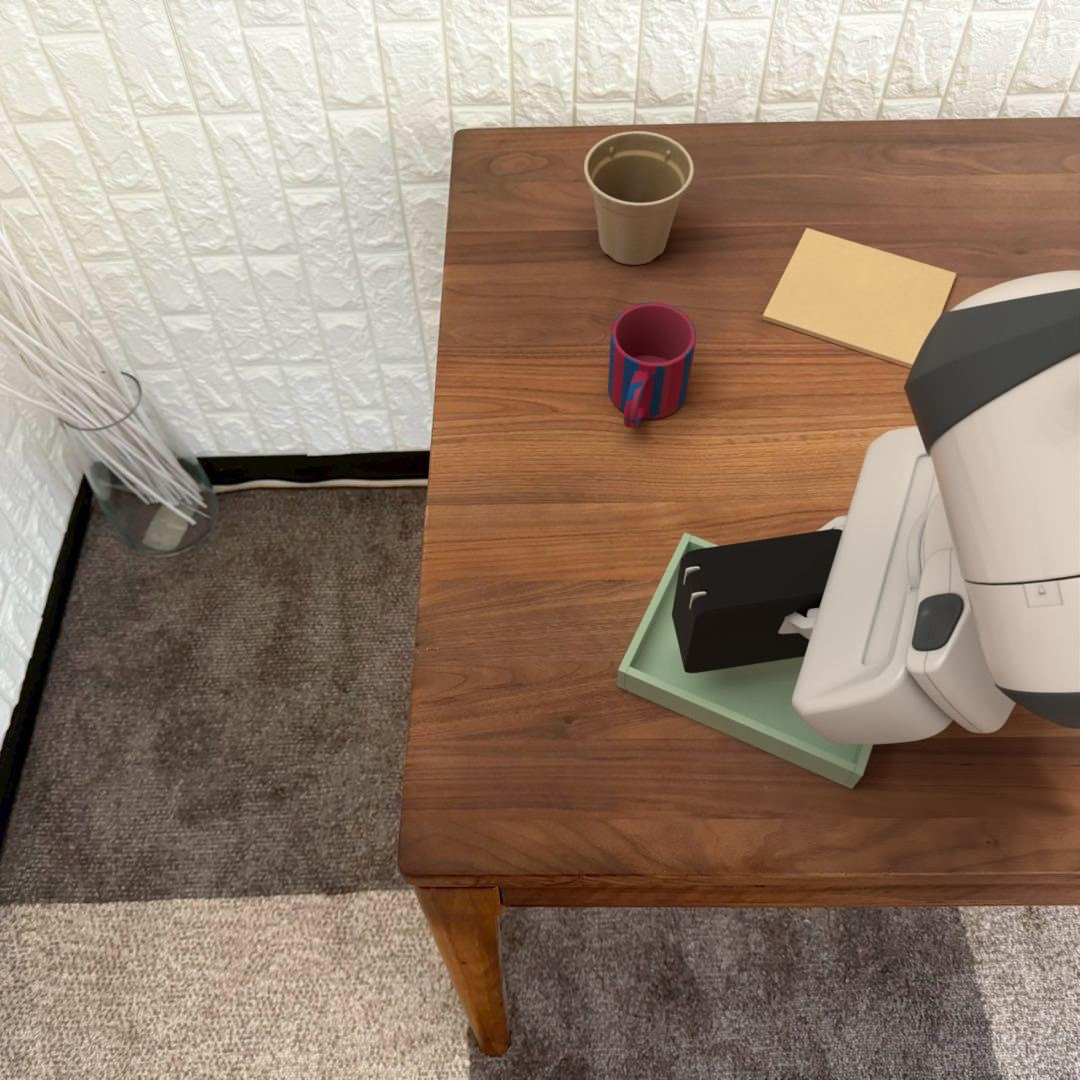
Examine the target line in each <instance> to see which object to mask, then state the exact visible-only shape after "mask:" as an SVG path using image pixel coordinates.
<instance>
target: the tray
mask: <svg viewBox="0 0 1080 1080" xmlns="http://www.w3.org/2000/svg"><path fill="white" fill-rule="evenodd" d="M715 546H720V545H718V544H716V543H713V542H710V541H709V540H706V539H703V538H700V537H698V536H695V535H692V534H690V533H688V532H683V534H682V536H681V537H680V541H679V542H678V545H677V546H676V549H675V551H674V552H673V555H672V557H671V559H670V560H669V561H670V562H669V563H668V565H667V567H666V569H665V571H664V574H663V576H662V577H661V580H660V582H659V584H658V586H657V588H656V590H655V592H654V594H653V596H652V598H651V601H650V602H649V604H648V606H647V609H646V611H645V613H644V615H643V617H642V618H641V621H640V623H639V625H638V627H637V629H636V632H635V634H634V636H633V637H632V640H631V642H630V644H629V646H628V648H627V650H626V652H625V654H624V656H623V658H622V660H621V663H620V665H619V667H618V669H617V675H616V676H617V677H616V683H615V685H616V687H618V688H620V689H623V690H625V691H627V692H629V693H631V694H633V695H636V696H638V697H640V698H642V699H645V700H647V701H650V702H652V703H654V704H657V705H659V706H661V707H663V708H665V709H667V710H670V711H673V712H674V713H677V714H679V715H680V716H681V715H682V716H683V717H686V718H688V719H690V720H694V721H695V722H698V723H700V724H702V725H704V726H706V727H709V728H711V729H714V730H715V731H718V732H720V733H723V734H725V735H727V736H729V737H732V738H734V739H736V740H739V741H741V742H743V743H745V744H748V745H750V746H752V747H754V748H757V749H759V750H762V751H763V752H766V753H768V754H770V755H773V756H776V757H777V758H780V759H782V760H784V761H785V762H786V761H787V762H789V763H791V764H793V765H796V766H797V767H800V768H803V769H805V770H807V771H809V772H811V773H814V774H816V775H818V776H821V777H823V778H825V779H828V780H829V781H832V782H835V783H837V784H839V785H841V786H843V787H846V788H849V789H851V790H853V789H854V787H855V786H856V785H857V783H858V782H859V781H860V780H861V779H862V778H863V776H864V773H865V770H866V768H867V765H868V762H869V759H870V755H871V753H872V749H873V747H874V744H869V745H847V744H837V743H833V742H830V741H828V740H826V739H825V738H823V737H822V736H820V735H819V734H818V733H817V732H815V731H814V730H813V729H812V728H811V727H810V726H809V725H808V724H807V723H806V722H805V721H804V720H803V719H802V718H801V717H800V715H799V714H798V713H797V712H796V710H795V709H794V707H793V705H792V696H793V693H794V690H795V687H796V683H797V680H798V677H799V673H800V670H801V667H802V664H803V660H804V657H798V658H792V659H785V660H779V661H772V662H766V663H759V664H753V665H746V666H740V667H733V668H727V669H720V670H714V671H707V672H700V673H686V672H685V670H684V667H683V662H682V658H681V654H680V649H679V645H678V641H677V636H676V632H675V627H674V623H673V619H672V610H673V604H674V598H675V592H676V586H677V580H678V573H679V567H680V561H681V558H682V556H683V555H684V554H686V553H688V552H689V551H692V550H696V549H702V548H708V547H715Z"/></svg>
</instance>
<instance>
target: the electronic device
mask: <svg viewBox="0 0 1080 1080" xmlns="http://www.w3.org/2000/svg"><path fill="white" fill-rule="evenodd" d="M841 534H842V530H840V529H828V530H822V531H817V530H816V531H809V532H801V533H797V534H796V533H795V534H788V535H783V536H782V535H781V536H775V537H768V538H762V539H757V540H748V541H743V542H736V543H735V542H734V543H728V544H723V545H722V544H721V545H719V546H715V547H708V548H702V549H696V550H692V551H689V552H688V553H686V554H684V555H683V556H682V558H681V561H680V567H679V573H678V580H677V586H676V592H675V598H674V604H673V610H672V619H673V623H674V627H675V632H676V636H677V641H678V645H679V649H680V654H681V658H682V662H683V667H684V670H685V672H686V673H700V672H707V671H714V670H720V669H727V668H733V667H740V666H746V665H753V664H759V663H766V662H772V661H779V660H785V659H792V658H798V657H805V654H806V650H807V647H808V644H809V639H807V638H806V637H804V636H803V635H801V634H800V633H788V634H780V633H778V632H779V630H780V628H781V626H782V624H783V622H784V620H785V619H784V618H785V617H786V616H788V615H790V614H792V613H794V612H796V613H798V614H800V615H802V616H804V617H805V618H807V613H808V610H809V609H814V608H819V607H820V604H821V601H822V597H823V594H824V591H825V587H826V584H827V581H828V578H829V574H830V571H831V568H832V565H833V561H834V558H835V555H836V552H837V549H838V545H839V541H840V538H841Z"/></svg>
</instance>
